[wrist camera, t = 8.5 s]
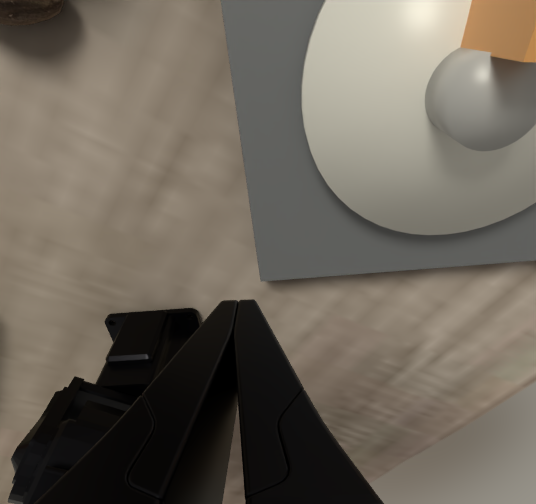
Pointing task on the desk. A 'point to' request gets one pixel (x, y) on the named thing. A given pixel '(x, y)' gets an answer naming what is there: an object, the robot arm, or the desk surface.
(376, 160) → the dial
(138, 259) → the desk surface
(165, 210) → the desk surface
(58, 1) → the brown curved looped piece
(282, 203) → the dial board
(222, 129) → the desk surface
